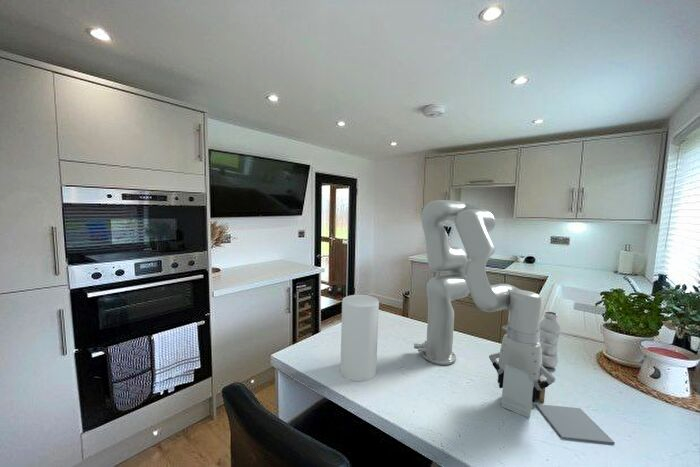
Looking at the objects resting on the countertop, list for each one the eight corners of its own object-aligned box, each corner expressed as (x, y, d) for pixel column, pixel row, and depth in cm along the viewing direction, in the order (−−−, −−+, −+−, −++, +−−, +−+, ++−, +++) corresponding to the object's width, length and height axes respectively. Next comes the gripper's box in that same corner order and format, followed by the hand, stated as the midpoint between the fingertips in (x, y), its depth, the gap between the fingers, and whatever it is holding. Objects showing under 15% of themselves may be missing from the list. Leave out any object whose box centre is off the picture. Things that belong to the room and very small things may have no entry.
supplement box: (530, 419, 77) (534, 375, 76) (500, 406, 81) (503, 365, 80) (533, 404, 83) (537, 363, 82) (505, 394, 87) (508, 355, 86)
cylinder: (353, 357, 106) (355, 292, 104) (382, 368, 99) (385, 299, 97) (332, 372, 96) (334, 300, 94) (363, 386, 89) (366, 309, 87)
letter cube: (524, 397, 86) (525, 381, 86) (524, 388, 91) (525, 373, 90) (544, 403, 83) (545, 387, 83) (543, 394, 88) (544, 378, 87)
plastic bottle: (561, 371, 101) (566, 317, 99) (540, 368, 102) (544, 315, 100) (552, 362, 107) (556, 311, 105) (532, 359, 108) (536, 309, 107)
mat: (562, 438, 70) (562, 436, 70) (535, 405, 82) (536, 404, 82) (614, 444, 69) (614, 442, 69) (580, 409, 81) (580, 408, 81)
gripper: (485, 328, 84) (481, 384, 85) (557, 350, 71) (551, 415, 73) (494, 322, 89) (491, 375, 90) (562, 341, 76) (557, 402, 78)
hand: (517, 392), depth 81 cm, fingers closed on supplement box, 8 cm apart
